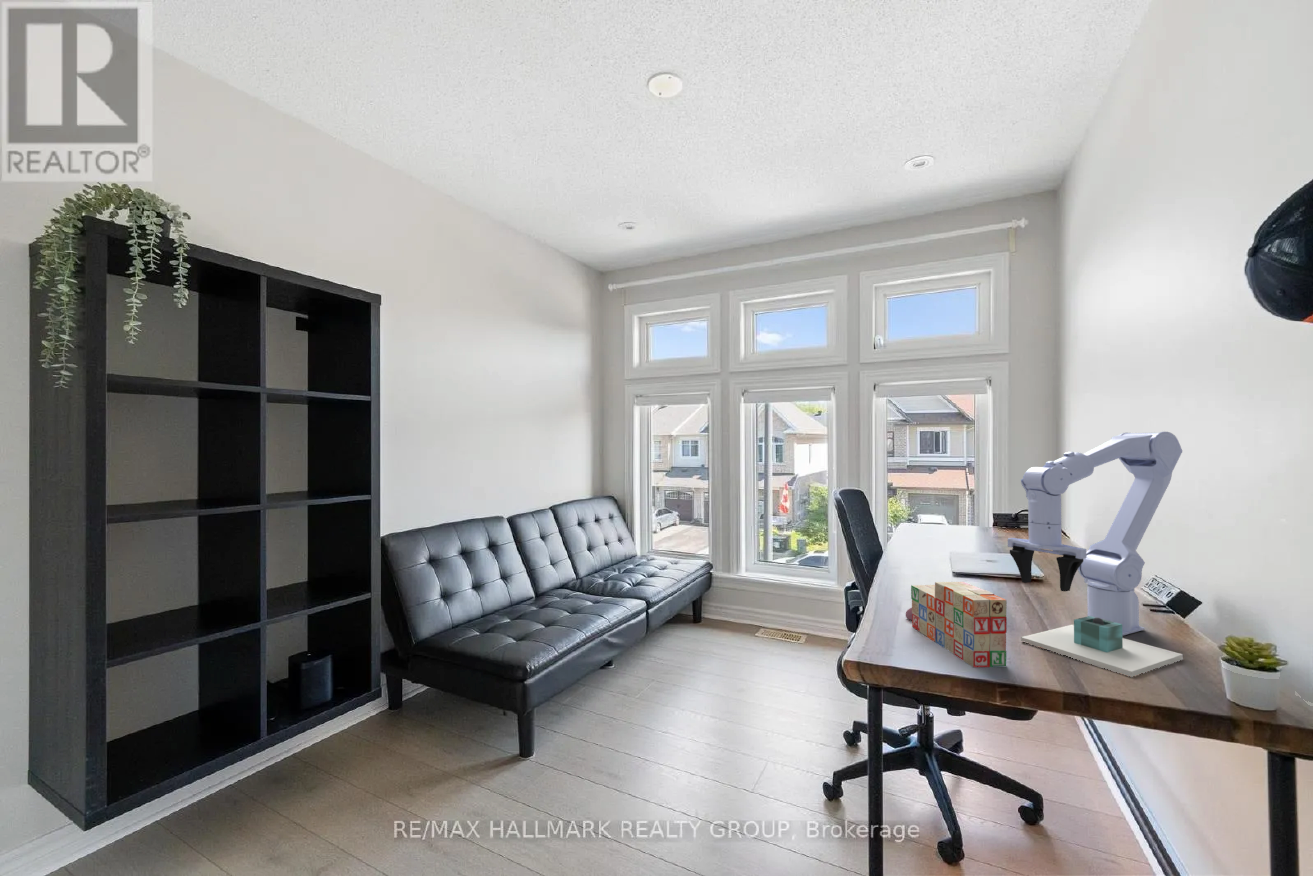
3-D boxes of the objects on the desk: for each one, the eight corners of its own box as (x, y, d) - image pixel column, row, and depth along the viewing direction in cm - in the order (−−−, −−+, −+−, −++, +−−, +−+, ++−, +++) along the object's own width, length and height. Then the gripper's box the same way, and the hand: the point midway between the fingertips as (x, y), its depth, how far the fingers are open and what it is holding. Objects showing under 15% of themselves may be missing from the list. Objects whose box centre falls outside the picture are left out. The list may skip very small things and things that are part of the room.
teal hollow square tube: (1089, 638, 106) (1089, 616, 106) (1122, 648, 101) (1122, 624, 101) (1074, 642, 103) (1073, 619, 103) (1107, 652, 99) (1106, 628, 99)
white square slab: (1072, 629, 114) (1072, 599, 114) (1182, 659, 98) (1182, 625, 98) (1021, 642, 106) (1020, 610, 107) (1131, 677, 90) (1131, 640, 90)
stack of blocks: (910, 627, 115) (910, 570, 116) (938, 627, 116) (938, 570, 116) (973, 668, 94) (973, 599, 94) (1008, 667, 94) (1007, 598, 95)
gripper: (998, 519, 119) (999, 580, 118) (1072, 528, 105) (1073, 597, 105) (1018, 517, 122) (1018, 577, 121) (1092, 526, 108) (1092, 593, 108)
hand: (1045, 586), depth 113 cm, fingers open, 7 cm apart
